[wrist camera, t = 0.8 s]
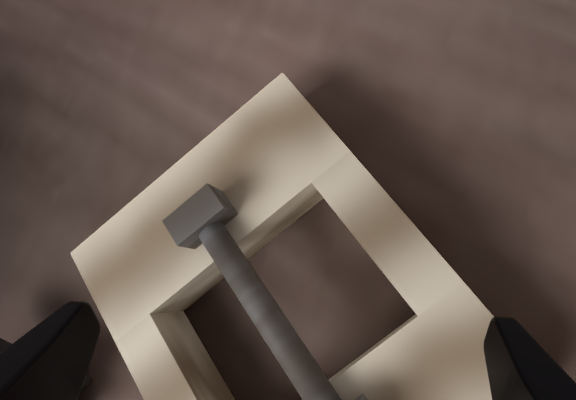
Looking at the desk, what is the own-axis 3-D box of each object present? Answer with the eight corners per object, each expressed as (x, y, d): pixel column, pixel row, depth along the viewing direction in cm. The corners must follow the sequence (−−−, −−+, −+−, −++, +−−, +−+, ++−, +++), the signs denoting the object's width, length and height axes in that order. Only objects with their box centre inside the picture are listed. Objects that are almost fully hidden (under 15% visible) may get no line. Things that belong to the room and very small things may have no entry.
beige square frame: (546, 388, 20) (590, 420, 15) (282, 574, 21) (241, 660, 16) (298, 99, 27) (271, 55, 22) (110, 257, 28) (44, 250, 23)
